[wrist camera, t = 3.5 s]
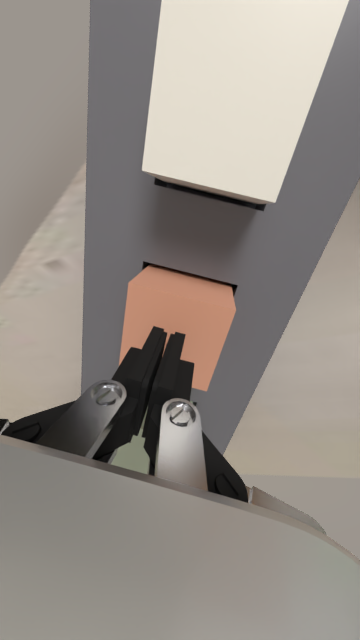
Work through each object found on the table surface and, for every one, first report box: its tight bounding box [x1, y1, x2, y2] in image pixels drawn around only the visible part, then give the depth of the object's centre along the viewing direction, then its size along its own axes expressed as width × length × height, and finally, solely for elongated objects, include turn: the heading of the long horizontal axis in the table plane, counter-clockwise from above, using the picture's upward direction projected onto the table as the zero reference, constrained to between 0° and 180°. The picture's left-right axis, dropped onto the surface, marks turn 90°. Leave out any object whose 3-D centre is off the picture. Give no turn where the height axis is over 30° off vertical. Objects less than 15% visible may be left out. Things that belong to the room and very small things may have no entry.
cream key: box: [142, 0, 349, 204], centre depth 10 cm, size 6×6×5 cm
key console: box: [81, 0, 360, 456], centre depth 18 cm, size 14×32×4 cm, turn 167°
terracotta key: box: [119, 263, 236, 391], centre depth 15 cm, size 6×6×5 cm
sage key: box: [111, 401, 193, 474], centre depth 20 cm, size 6×6×5 cm
